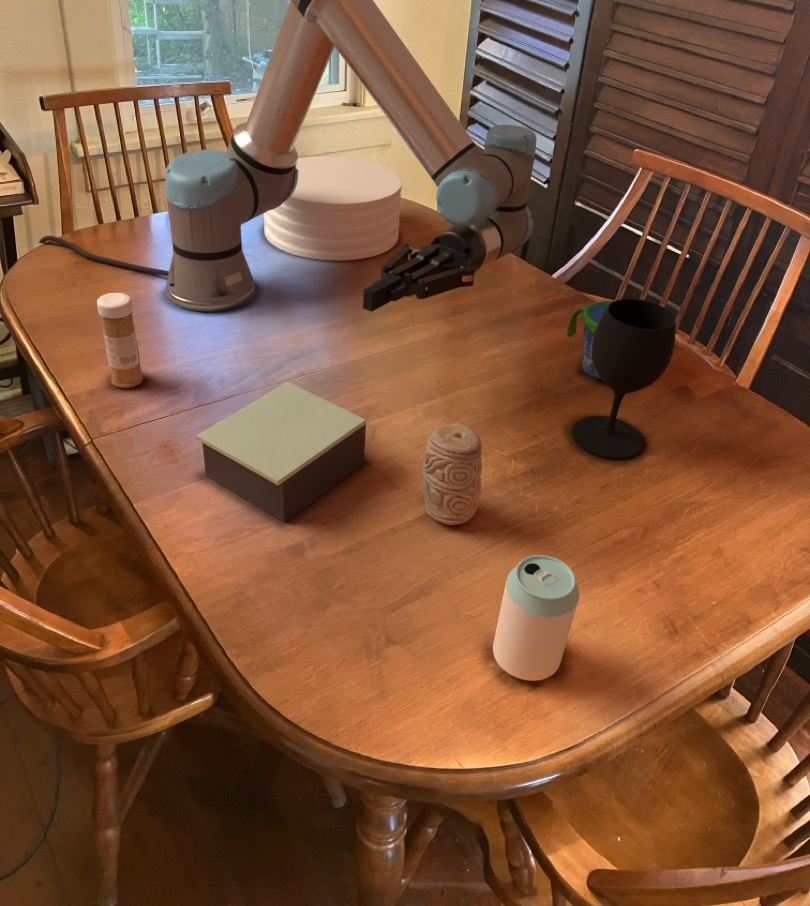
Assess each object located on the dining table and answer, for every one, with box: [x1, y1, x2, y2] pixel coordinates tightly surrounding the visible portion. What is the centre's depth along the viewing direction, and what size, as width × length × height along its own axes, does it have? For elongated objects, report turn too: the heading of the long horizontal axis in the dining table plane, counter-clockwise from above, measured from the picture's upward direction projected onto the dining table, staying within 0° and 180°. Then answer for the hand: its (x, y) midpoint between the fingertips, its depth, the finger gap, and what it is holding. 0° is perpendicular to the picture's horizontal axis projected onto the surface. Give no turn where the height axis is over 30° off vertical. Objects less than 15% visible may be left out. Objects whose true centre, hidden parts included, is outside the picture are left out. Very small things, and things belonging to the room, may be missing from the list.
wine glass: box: [571, 298, 677, 461], centre depth 110 cm, size 10×10×20 cm
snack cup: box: [566, 300, 615, 382], centre depth 128 cm, size 16×10×10 cm
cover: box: [196, 381, 367, 485], centre depth 101 cm, size 16×14×1 cm
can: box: [492, 554, 580, 682], centre depth 80 cm, size 7×7×12 cm
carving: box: [421, 422, 483, 526], centre depth 97 cm, size 6×8×12 cm
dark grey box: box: [201, 423, 367, 523], centre depth 103 cm, size 16×14×6 cm
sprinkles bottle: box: [96, 292, 144, 389], centre depth 115 cm, size 5×5×13 cm
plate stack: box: [263, 156, 403, 262], centre depth 165 cm, size 28×28×12 cm
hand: (367, 300), depth 105 cm, fingers closed
